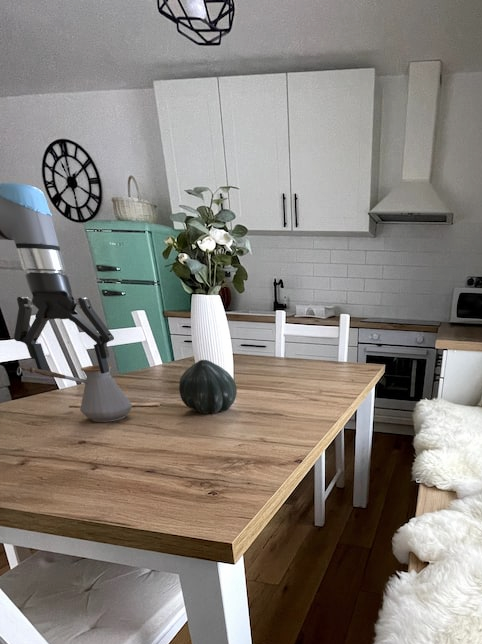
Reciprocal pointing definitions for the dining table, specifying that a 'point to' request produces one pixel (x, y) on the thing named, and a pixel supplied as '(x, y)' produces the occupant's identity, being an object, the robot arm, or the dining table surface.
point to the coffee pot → (96, 394)
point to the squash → (207, 387)
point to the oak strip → (131, 403)
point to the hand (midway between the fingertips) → (75, 372)
